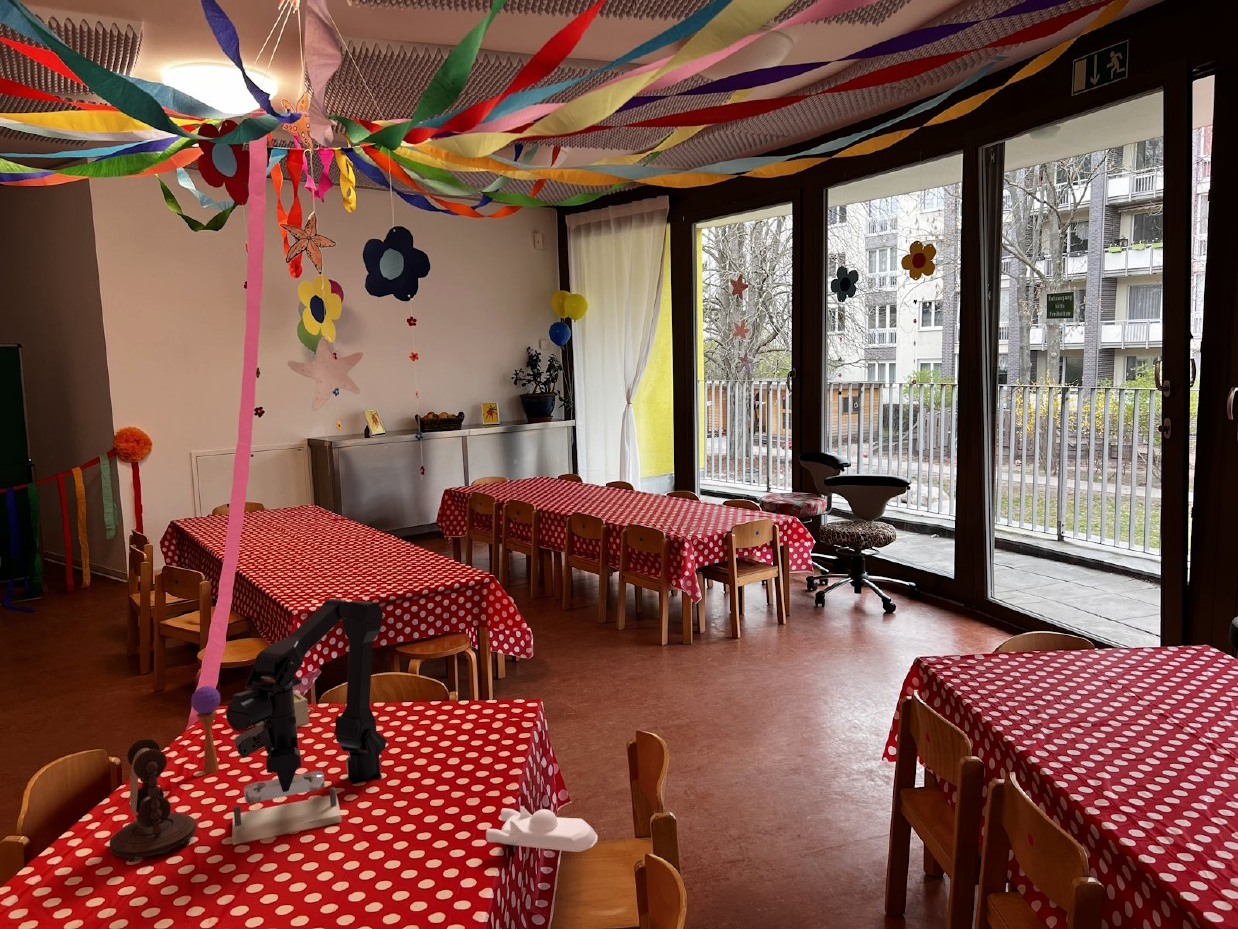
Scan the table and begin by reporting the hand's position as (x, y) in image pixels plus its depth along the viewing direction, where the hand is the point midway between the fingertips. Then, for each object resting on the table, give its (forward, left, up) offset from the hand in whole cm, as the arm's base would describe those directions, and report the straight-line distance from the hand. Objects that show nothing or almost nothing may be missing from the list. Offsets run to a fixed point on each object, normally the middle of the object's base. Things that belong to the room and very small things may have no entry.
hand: (285, 787), depth 179 cm
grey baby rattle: (0, 0, -1) cm, 1 cm away
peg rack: (0, 0, -7) cm, 7 cm away
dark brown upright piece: (+24, -2, -7) cm, 25 cm away
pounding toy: (-1, -59, -8) cm, 60 cm away
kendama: (+15, -33, -7) cm, 37 cm away
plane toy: (-45, +30, -8) cm, 54 cm away
